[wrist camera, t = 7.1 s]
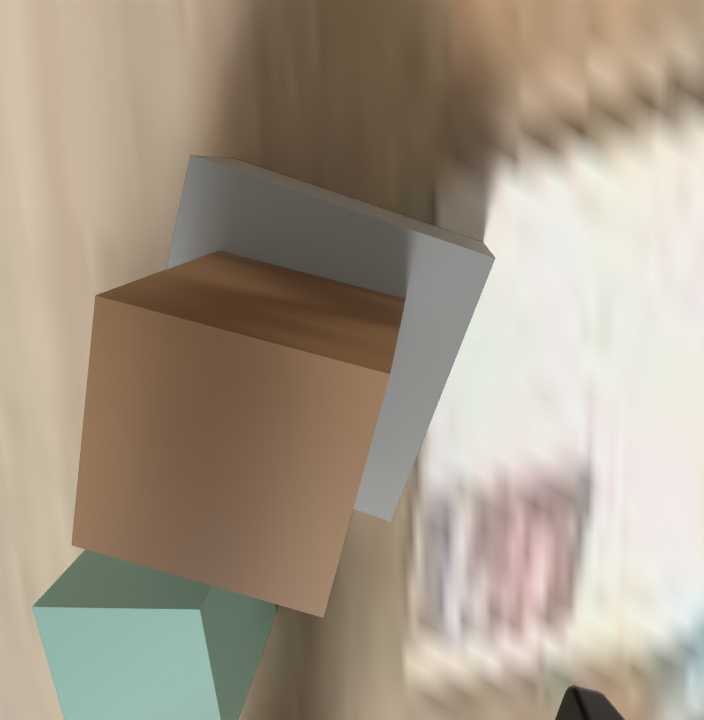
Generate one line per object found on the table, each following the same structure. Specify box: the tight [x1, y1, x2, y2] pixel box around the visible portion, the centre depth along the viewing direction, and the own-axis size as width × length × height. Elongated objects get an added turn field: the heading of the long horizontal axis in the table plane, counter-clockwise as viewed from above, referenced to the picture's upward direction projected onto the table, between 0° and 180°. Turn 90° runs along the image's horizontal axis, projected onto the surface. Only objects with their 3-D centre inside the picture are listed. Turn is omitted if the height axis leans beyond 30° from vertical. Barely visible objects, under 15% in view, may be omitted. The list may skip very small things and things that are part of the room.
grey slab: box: [166, 155, 495, 522], centre depth 18 cm, size 8×8×4 cm
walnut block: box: [72, 251, 406, 618], centre depth 13 cm, size 5×5×6 cm
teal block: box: [32, 549, 277, 720], centre depth 20 cm, size 5×5×6 cm
